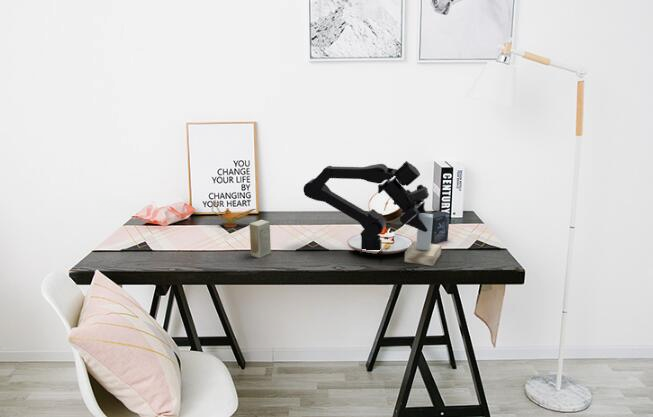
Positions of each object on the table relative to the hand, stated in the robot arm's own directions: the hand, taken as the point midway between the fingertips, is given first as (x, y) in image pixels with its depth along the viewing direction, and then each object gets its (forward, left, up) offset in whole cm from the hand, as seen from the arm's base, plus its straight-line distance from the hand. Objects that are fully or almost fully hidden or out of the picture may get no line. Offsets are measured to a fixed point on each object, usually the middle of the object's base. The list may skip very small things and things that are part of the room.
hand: (428, 227), depth 215 cm
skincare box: (-57, -14, -12) cm, 60 cm away
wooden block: (-1, 0, -12) cm, 12 cm away
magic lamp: (-80, +14, -12) cm, 82 cm away
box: (+1, +20, -12) cm, 23 cm away
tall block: (-2, 0, -8) cm, 8 cm away
